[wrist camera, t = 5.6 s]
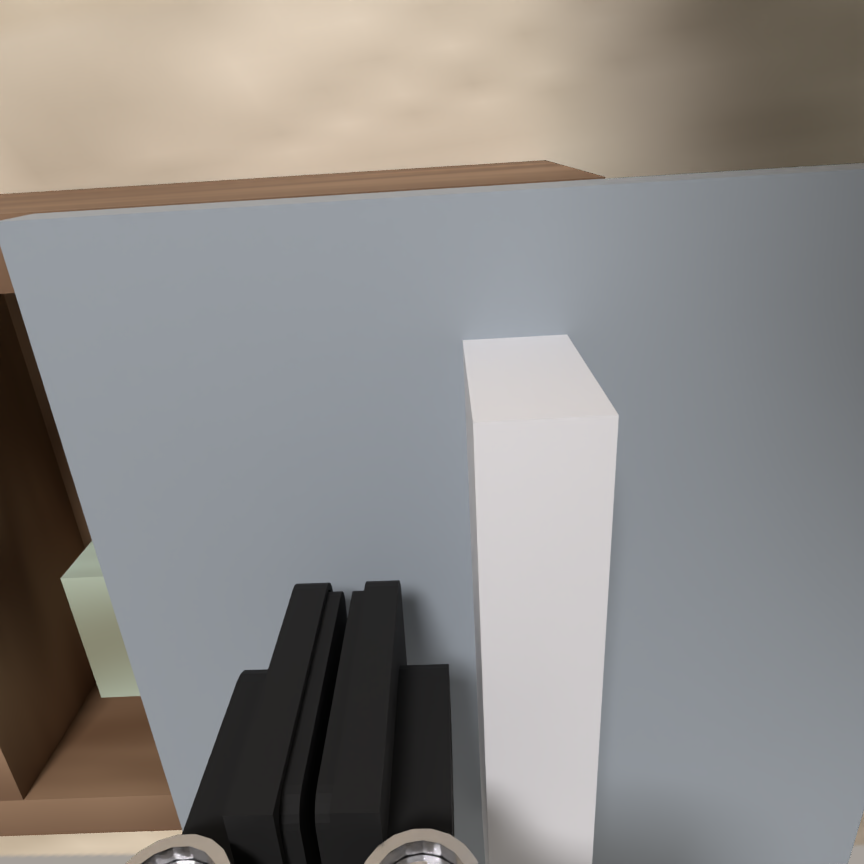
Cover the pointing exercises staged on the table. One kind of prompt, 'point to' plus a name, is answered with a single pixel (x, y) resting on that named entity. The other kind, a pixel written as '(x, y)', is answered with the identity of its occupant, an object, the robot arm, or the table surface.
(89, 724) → the box
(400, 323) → the cover
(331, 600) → the robot arm
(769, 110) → the table surface
